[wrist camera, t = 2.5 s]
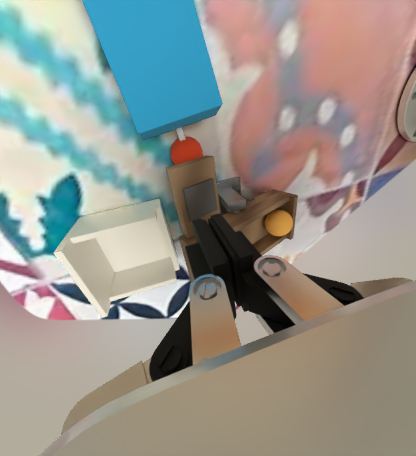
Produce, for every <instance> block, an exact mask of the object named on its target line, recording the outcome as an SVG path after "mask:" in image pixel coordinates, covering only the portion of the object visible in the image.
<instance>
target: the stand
mask: <svg viewBox="0 0 416 456" xmlns="http://www.w3.org/2000/svg"><path fill="white" fill-rule="evenodd" d="M217 190H218V198H219V205H220V213H221V215H224V214H226V213H230V212H234V211H237V210H241V209H245V208H246V199H244V198H243V197H242V196H241V191H240V177H235V178H231V179H227V180H222V181H218V182H217Z"/></svg>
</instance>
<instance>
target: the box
mask: <svg viewBox="0 0 416 456" xmlns="http://www.w3.org/2000/svg"><path fill="white" fill-rule="evenodd" d="M54 254H55V256H56V257H57V258H58V260H59V261H60V262H61V264H62V265H63V266H64V268H65V269H66V270H67V272H68V273H69V274H70V276H71V277H72V278H73V280H74V281H75V282H76V284H77V285H78V287H79V288H80V289H81V291H82V292H83V293H84V295H85V296H86V297H87V299H88V300H89V301H90V303H91V304H92V305H93V307H94V308H95V309H96V311H97V312H98V313H99V315H100V316H101V317H102V318H103V317H106V316H108V312H109V307H110V303H111V301H114V300H117V299H120V298H124V297H127V296H130V295H134V294H137V293H140V292H144V291H147V290H150V289H154V288H157V287H160V286H164V285H167V284H170V283H174V282H177V278H176V272H175V271H176V270H180V268H179V263H178V258H177V254H176V250H175V247H174V244H173V241H172V237H171V234H170V231H169V227H168V224H167V221H166V218H165V214H164V211H163V208H162V204H161V201H160V198H159V199H154V200H150V201H146V202H142V203H137V204H133V205H129V206H125V207H120V208H116V209H112V210H107V211H103V212H99V213H95V214H90V215H86V216H82V217H80V218H79V219H78V220H77V222H76V223H75V224H74V226H73V227H72V228H71V230H70V231H69V233H68V234H67V235H66V237H65V238H64V239H63V241H62V242H61V243H60V245H59V246H58V247H57V249H56V250H55V251H54Z"/></svg>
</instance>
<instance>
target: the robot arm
mask: <svg viewBox="0 0 416 456" xmlns="http://www.w3.org/2000/svg"><path fill="white" fill-rule="evenodd" d="M397 122H398V129H399V132H400V134H401V135H402V137H403V138H404V139H406V140H408V141H412V142H416V68H415V69H414V71H413V73H412V74H411V76H410V78H409V80H408V82H407V84H406V86H405V89H404V91H403V94H402V97H401V100H400V104H399V108H398V117H397ZM192 226H193V231H194V235H195V239H196V243H195V244H191V245H188V246H185V249H186V253H187V257H188V260H189V264H190V268H191V271H192V274H193V278H194V281H193V282H192V284H191V286H190V290H189V296H190V301H189V302H188V304H187V305H186V307H185V308H184V310H183V311H182V312H181V314H180V315H179V317H178V318H177V320H176V321H175V323H174V324H173V325H172V327H171V328H170V330H169V331H168V333H167V334H166V336H165V337H164V339H163V340H162V341H161V343H160V344H159V346H158V347H157V349H156V350H155V352H154V353H153V355H152V357H151V358H150V359H149V360H147V361H146V362H144V363H143V362H142V361H140V362H139V363H137V364H136V365H134V366H132V367H131V368H129V369H128V370H126V371H124V372H123V373H121V374H120V375H118V376H117V377H115V378H114V379H112V380H110V381H109V382H107V383H105V384H104V385H102V386H101V387H99V388H97V389H96V390H94V391H93V392H91V393H89V394H88V395H86V396H85V397H84V398H83V399H81V400H80V401H79V402H78V403H77V404H76V405H75V406H74V408H73V409H72V410H71V411H70V413H69V415H68V417H67V419H66V421H65V422H64V425H63V429H62V434H61V436H60V437H59V438H57V440H56V441H54V442H53V443H52V444H51V445H50V446H49V447H47V448H46V449H45V450H44V451H43V452H42V453H41V454H40V455H39V456H416V280H415V281H412V280H410V279H406V278H389V279H380V280H373V281H365V282H357V283H351V285H350V286H349V285H347V284H344V283H341V282H337V281H333V280H328V279H325V278H320V277H316V276H312V275H308V274H303V273H301V272H300V271H299V270H297V269H296V268H295V267H294V266H292V265H291V264H290V263H288V262H287V261H286V260H284V259H282V258H281V257H278V256H273V255H267V256H262V255H261V254H260V253H259V252H258V250H257V249H256V248H255V247H254V246H253V245H252V243H251V242H250V241H249V240H248V239H247V238H246V236H245V235H244V234H243V233H242V232H241V231H237V232H235V231H234V230H233V228H232V227H231V226H230V225H229V223H228V222H227V221H226V220H225V218H224V217H223V216H222V215H221V213H219V214H215V215H211V218H210V219H208V223H207V222H206V220H202V219H201V218H200V219H196V220H192ZM235 302H236V304H237V306H242V308H243V310H244V311H248V310H249V311H250V312H253V313H255V314H256V317H257V319H258V320H259V321H260V323H261V324H262V326H263V327H264V328H265V330H266V331H267V332H268V334H269V336H266V337H264V338H261V339H259V340H256V341H254V342H251V343H248V344H246V345H244V346H241V343H240V339H239V335H238V332H237V328H236V324H235V318H236V309H235Z"/></svg>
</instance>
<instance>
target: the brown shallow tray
mask: <svg viewBox="0 0 416 456" xmlns="http://www.w3.org/2000/svg"><path fill="white" fill-rule="evenodd" d="M166 171H167V175H168V179H169V182H170V186H171V190H172V194H173V198H174V201H175V205H176V209H177V213H178V217H179V221H180V224H181V228H182V232H183V235H182V236H180V237H179V240H180V243H181V247H182V251H183V254H184V258H185V261H186V265H187V268H188V272H189V276H190V279H191V281H192V282H193V281H194V278H193V274H192V271H191V268H190V264H189V260H188V257H187V253H186V249H185V246H188V245H191V244H195V243H196V239H195V235H194V231H193V226H192V220H196V219H200V218H201V219H202V220H206V222H207V223H208V219H210V218H211V215H215V214H219V213H220V205H219V198H218V190H217V182H216V174H215V166H214V158H213V156H204V157H200V158H197V159H194V160H191V161H187V162H184V163H181V164H178V165H174V166H171V167H168V168H166ZM297 198H298V195H294V194H290V193H286V192H282V191H277V190H271V191H269V192H267V193H261V194H259V195H257V196H255V197H253V198H252V200H251V201H249V202H247V203H246V208H245V209H241V210H237V211H234V212H230V213H226V214H224V215H222V216H223V217H224V218H225V220H226V221H227V222H228V223H229V225H230V226H231V227H232V228H233V230H234V231H235V232H237V231H241V232H242V233H243V234H244V235H245V236H246V238H247V239H248V240H249V241H250V242H251V243H252V245H253V246H254V247H255V248H256V249H257V250H258V252H259V253H260V254H261V255H263V254H265V253H266V252H268V251H269V250H270V249H272V248H273V247H274V246H276V245H277V244H279V243H280V242H281V241H283V240H284V239H286V238H287V239H290V240H291V239H292V238H293V234H294V225H295V216H296V207H297ZM275 210H283V211H286V212H287V213H289V214H290V215H291V217H292V220H293V226H292V229H291V230H290V232H289V233H287V234H286V235H283V236H274V235H272V234H270V233H269V232H268V231H267V229H266V227H265V219H266V217H267V215H268V214H269V213H270V212H272V211H275Z"/></svg>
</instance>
